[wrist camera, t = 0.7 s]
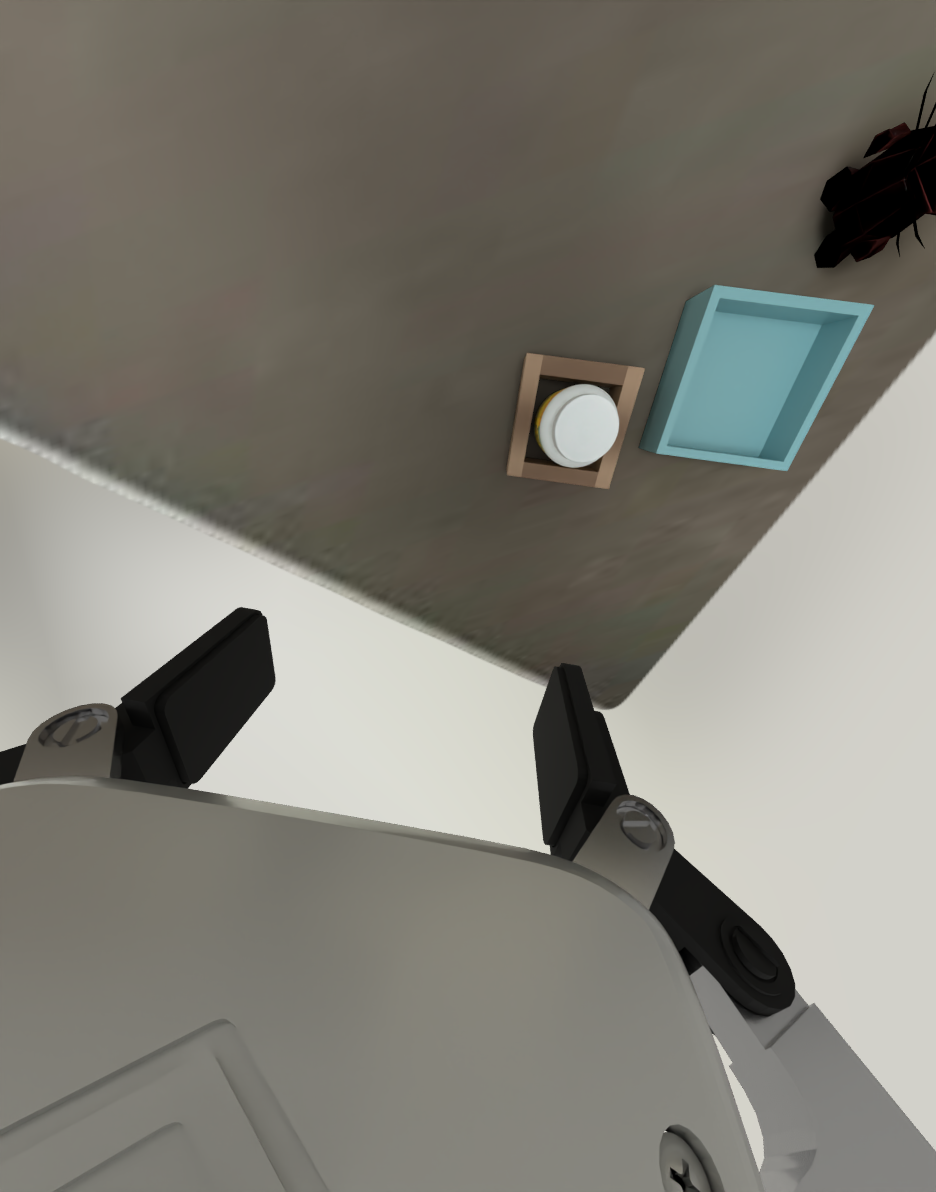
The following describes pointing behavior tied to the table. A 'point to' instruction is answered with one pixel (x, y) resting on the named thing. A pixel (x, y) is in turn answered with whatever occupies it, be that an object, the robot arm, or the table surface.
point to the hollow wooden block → (577, 371)
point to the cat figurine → (881, 194)
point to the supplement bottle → (576, 425)
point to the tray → (749, 375)
